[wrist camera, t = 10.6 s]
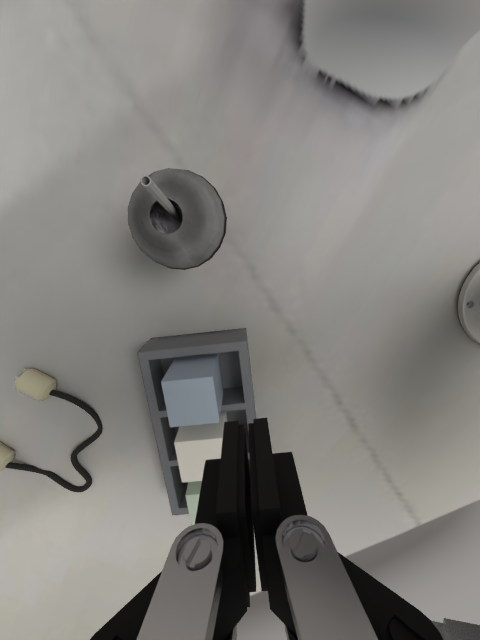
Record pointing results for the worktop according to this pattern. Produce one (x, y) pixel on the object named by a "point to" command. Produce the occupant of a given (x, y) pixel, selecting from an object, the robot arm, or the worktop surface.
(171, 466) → the box
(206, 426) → the key ivory
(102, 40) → the worktop surface
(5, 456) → the cable
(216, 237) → the beverage cup
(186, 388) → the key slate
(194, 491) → the key sage
